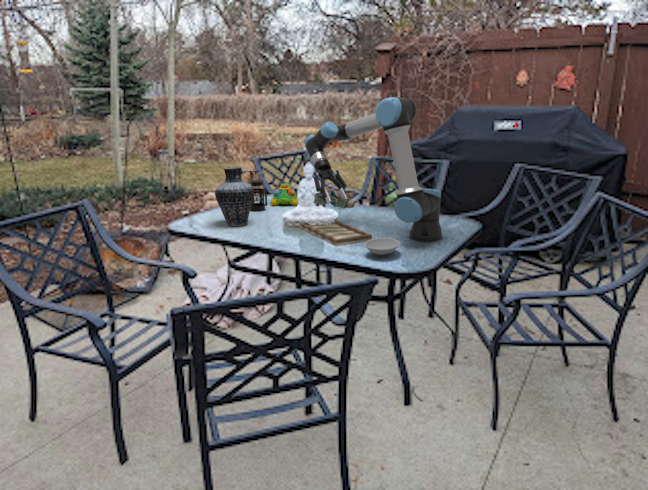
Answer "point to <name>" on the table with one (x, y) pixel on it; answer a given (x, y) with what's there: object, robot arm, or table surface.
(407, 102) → the robot arm
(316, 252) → the table surface
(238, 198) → the jug
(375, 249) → the dish
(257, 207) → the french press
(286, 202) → the turtle toy
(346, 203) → the hoverbike
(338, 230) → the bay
